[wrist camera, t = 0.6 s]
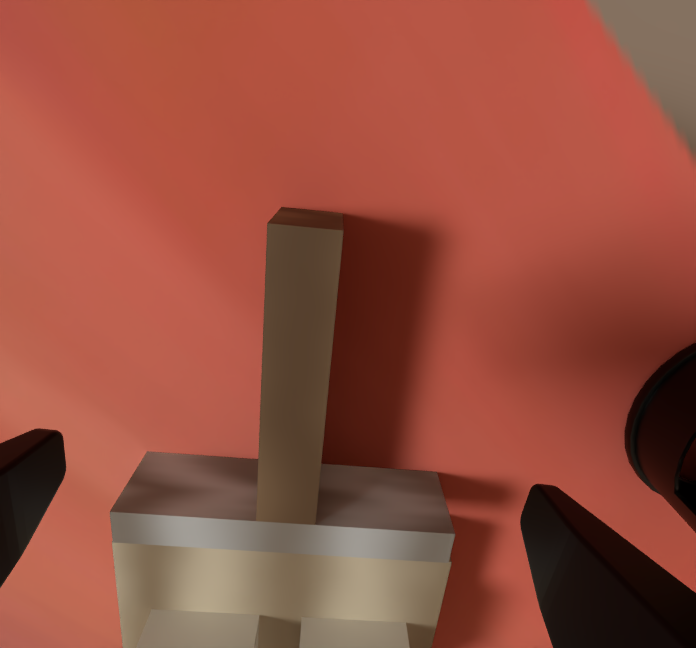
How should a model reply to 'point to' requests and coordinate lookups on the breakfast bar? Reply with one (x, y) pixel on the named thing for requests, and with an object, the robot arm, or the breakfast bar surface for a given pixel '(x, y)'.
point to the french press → (666, 432)
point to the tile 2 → (352, 634)
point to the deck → (276, 589)
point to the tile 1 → (199, 630)
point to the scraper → (289, 443)
